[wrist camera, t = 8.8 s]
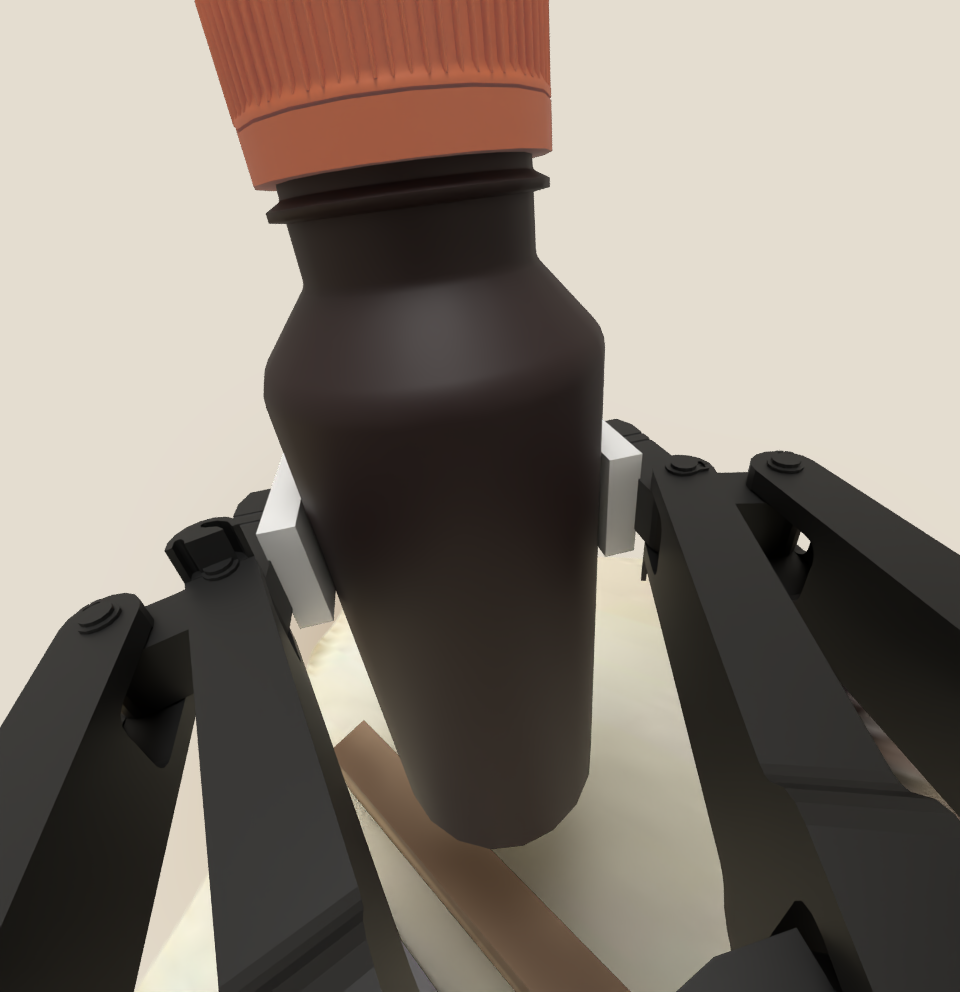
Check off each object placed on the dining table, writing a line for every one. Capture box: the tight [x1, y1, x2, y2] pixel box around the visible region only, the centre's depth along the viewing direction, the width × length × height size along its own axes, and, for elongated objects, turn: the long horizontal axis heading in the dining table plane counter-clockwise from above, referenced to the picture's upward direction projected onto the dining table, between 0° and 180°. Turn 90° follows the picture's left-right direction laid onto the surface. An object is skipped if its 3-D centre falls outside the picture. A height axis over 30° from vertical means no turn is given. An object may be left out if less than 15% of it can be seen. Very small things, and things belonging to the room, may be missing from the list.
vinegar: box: [195, 0, 605, 849], centre depth 12 cm, size 7×7×20 cm
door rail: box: [334, 720, 630, 992], centre depth 21 cm, size 2×22×4 cm, turn 48°
